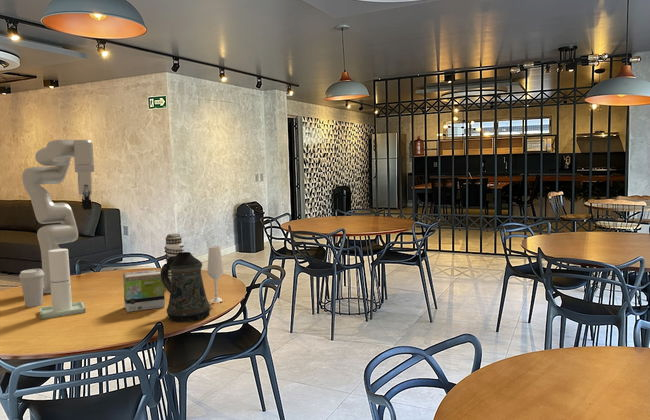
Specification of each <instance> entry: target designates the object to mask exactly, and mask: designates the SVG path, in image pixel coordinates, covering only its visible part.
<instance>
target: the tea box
mask: <svg viewBox="0 0 650 420" xmlns="http://www.w3.org/2000/svg"><path fill="white" fill-rule="evenodd" d="M122 274H123V275H122V277H123V278H122V281H123V283H122V284H123V301H124V302H123V303H124V305H123V306H124V308H125V311H126V313H130V312H135V311H136V312H137V311H143V310H144V311H145V310H152V309H161V307H164V308H165V303H166V301H165V298H166V297H165V286H164V284H163V282H162V279H161V269H151V270H140V271H132V272H131V271H130V272H123V273H122Z"/></svg>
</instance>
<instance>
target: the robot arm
mask: <svg viewBox="0 0 650 420" xmlns="http://www.w3.org/2000/svg"><path fill="white" fill-rule="evenodd" d="M93 145H94V144H93V142H92V140H89V139H54V140H52V141H48V142H47V144H46V147H42V148H40V149H39V150H37V151H36V153H35V157H34V159H35V161H36V162H37V163H38V164H40V165H42V166H32V167H31V166H30V167H27V168H25V169H24V170H23V172H22V174H21V181H22V186H23V187H24V189H25V192H26V193H27V195H28V196H29V199H30V201H31V205H32V208H33V212H34V213H33V214H34V215H35V218H36V221H37V222H38V223H39V224H42V225H43V224H44V225H43V226H41V227H40V228H39V229H38V230H37V233H36V235H37V240H38V243H39V249H40V255H41V256H40V257H41V269H42V271H43V272H44V275H43V294H51V282H50V269H49V256H48V251H49V250H54V249H62V248H61V247H60V246H59V245H61V244H67V243H69V244H70V243H73V242H75V241H77V240H78V238H79V230H78V226H77V222H76V219H75V214H74V212H73V209H72V207H71V206H70V205H69V203H66V202H53V199H52V195H51V193H50V192H49V191H48V190H47V189H46V188H45V187H43V186H42V185H57V184H61V183H63V182H64V181H65V178H66V176H67V173H68V169H69V168H70V167H69V166H70V165H71V164H70V163H71V158H73V162H74V163H73V164H74V172H75V173H77V187H78V188H77V191H78V196H81V207H82V210H87V211H88V210H92V199H91V195H92V193H93V192H92V191H93V185H92V184H93V182H92V181H93V178H92V173H94V172H95V164H94V163H95V162H94V161H95V160H94V146H93ZM56 223H57V224H56ZM45 224H48V225H45Z"/></svg>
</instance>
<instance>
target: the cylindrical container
mask: <svg viewBox="0 0 650 420" xmlns="http://www.w3.org/2000/svg"><path fill="white" fill-rule="evenodd" d="M48 256H49V269H50V282H51V293H50V294H51V295H50V296H51V306H52V309H53V312H60V311H66V310H72V303H73V301H72V299H73V297H72V288H71V287H72V286H71V272H70V271H71V269H70V258H69V249H68V248H61V249H54V250H49V251H48Z"/></svg>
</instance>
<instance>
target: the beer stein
mask: <svg viewBox="0 0 650 420" xmlns="http://www.w3.org/2000/svg"><path fill="white" fill-rule="evenodd" d="M202 269H203V263H202V261H201V260H200V259H198V258H196V257H194V255H192V253H191V252H189V251H183V252H180V253H178V254H177V255H176V256H171V257H169V258H168V260H167V262H166V263H164V264H163V265H162V266H161V269H160V270H161V279H162V282H163V284H164V289H165V288H166V290H167V292H168V293H169V300H168V304H167V308H166V314H167V316H168V317H167V318H168V320H169V321H170V320H171V322H173V321H174V323H192V322H193V323H194V322H198V321H201V320H205V319H206V318H208V317H210V314H211V313H210V309H211V303H209V301H208V300H209V299H208V297H207V294H206V290H205V286H204V281H203V275H202ZM169 270H171V272H172V279H171V281H170V279H169V276H168V271H169Z"/></svg>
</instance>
